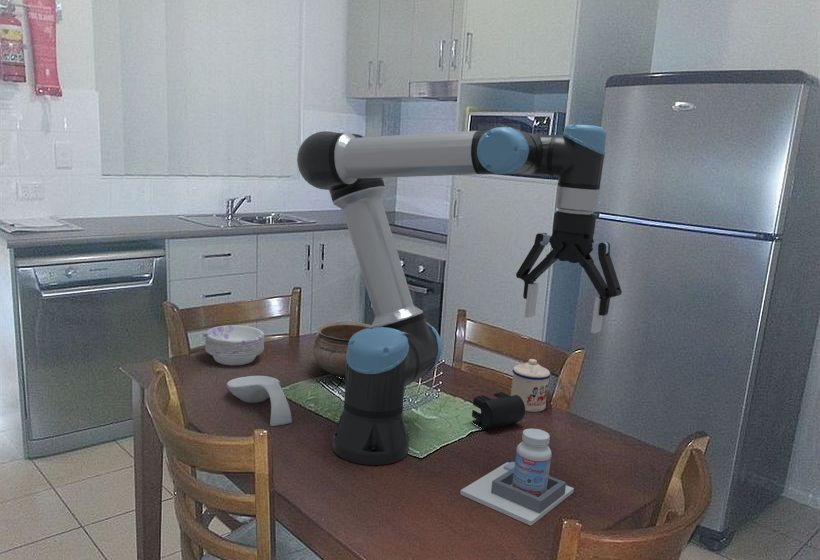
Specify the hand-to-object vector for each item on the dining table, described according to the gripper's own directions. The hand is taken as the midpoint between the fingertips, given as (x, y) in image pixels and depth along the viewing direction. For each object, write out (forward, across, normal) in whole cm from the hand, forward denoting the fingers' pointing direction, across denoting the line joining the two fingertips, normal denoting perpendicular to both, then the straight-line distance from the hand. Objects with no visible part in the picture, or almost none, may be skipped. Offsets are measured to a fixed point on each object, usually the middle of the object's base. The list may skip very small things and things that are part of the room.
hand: (561, 324), depth 126 cm
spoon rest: (+29, +59, +22) cm, 69 cm away
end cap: (+29, +17, -10) cm, 35 cm away
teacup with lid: (+29, +18, -28) cm, 44 cm away
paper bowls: (+29, +89, +7) cm, 94 cm away
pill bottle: (+28, -4, +14) cm, 32 cm away
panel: (+29, -2, +14) cm, 32 cm away
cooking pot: (+29, +61, -8) cm, 68 cm away
